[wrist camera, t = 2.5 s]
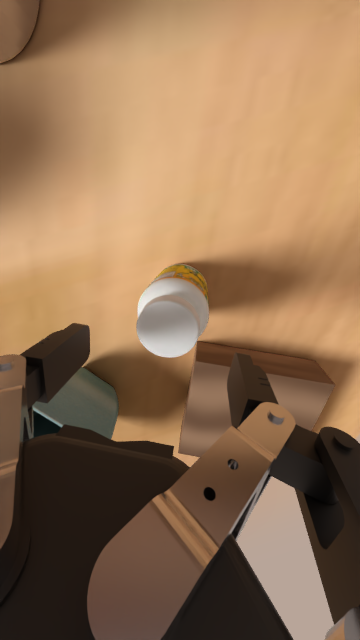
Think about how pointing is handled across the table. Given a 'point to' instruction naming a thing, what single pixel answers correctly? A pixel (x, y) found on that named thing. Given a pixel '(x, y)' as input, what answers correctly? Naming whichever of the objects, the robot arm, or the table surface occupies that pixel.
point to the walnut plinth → (212, 397)
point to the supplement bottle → (173, 311)
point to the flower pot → (78, 406)
